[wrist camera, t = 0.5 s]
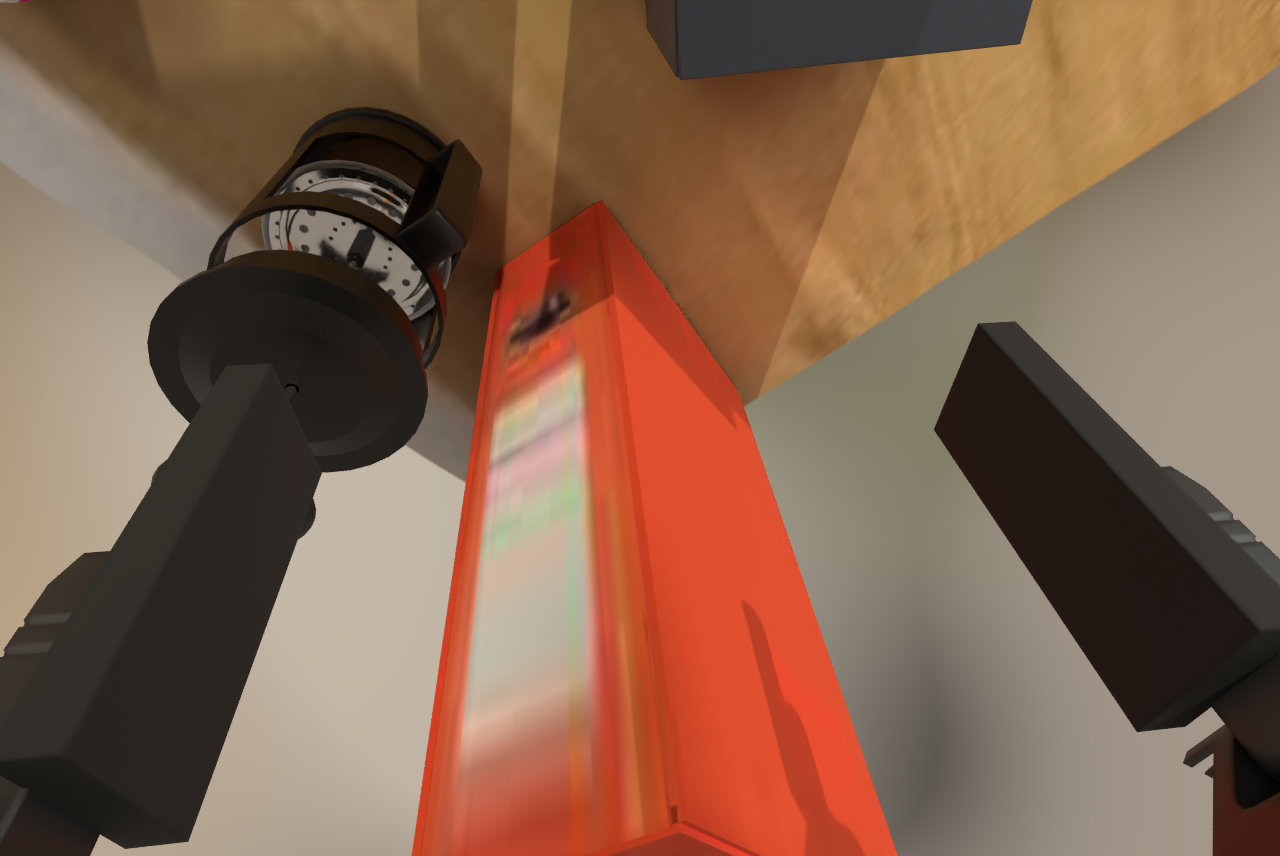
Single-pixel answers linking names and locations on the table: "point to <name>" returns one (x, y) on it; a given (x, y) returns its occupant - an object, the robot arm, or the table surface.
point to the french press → (331, 291)
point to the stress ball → (12, 1)
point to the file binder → (627, 598)
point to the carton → (822, 31)
